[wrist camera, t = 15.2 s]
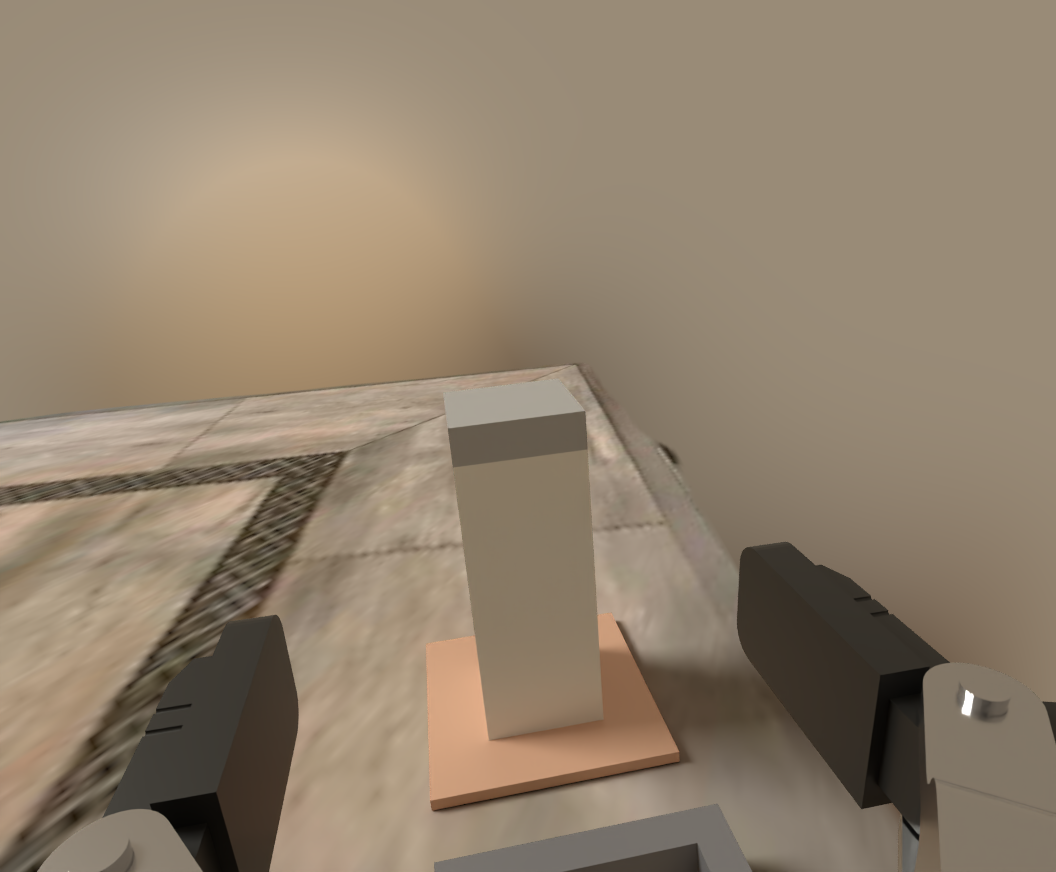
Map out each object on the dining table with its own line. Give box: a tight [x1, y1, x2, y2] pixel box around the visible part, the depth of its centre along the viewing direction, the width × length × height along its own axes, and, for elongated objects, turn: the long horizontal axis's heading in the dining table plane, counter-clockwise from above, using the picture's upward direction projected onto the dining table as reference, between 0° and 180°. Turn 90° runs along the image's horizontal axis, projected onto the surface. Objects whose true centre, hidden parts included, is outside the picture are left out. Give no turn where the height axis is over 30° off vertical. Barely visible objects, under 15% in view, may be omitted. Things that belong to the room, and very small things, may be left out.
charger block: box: [443, 379, 604, 740], centre depth 29 cm, size 5×5×14 cm
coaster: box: [426, 613, 679, 810], centre depth 31 cm, size 10×10×1 cm
